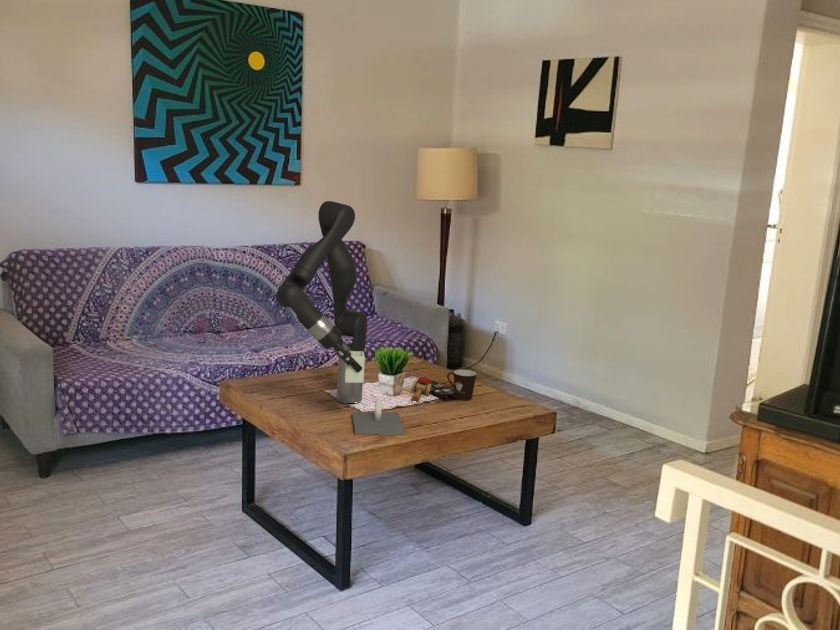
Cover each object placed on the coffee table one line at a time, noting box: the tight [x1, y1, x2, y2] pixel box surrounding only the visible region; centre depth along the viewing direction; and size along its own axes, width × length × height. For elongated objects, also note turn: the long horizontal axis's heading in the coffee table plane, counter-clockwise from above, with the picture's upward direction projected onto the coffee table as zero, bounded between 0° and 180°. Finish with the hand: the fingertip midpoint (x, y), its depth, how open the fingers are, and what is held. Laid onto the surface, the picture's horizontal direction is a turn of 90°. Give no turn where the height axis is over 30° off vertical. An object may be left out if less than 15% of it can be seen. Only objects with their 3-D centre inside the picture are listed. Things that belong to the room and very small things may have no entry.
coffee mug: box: [446, 369, 477, 402], centre depth 304 cm, size 12×9×10 cm
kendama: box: [410, 376, 433, 403], centre depth 302 cm, size 8×6×18 cm
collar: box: [345, 350, 366, 384], centre depth 263 cm, size 6×6×9 cm
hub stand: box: [351, 398, 405, 436], centre depth 268 cm, size 18×16×9 cm
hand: (359, 367), depth 264 cm, fingers closed on collar, 6 cm apart
